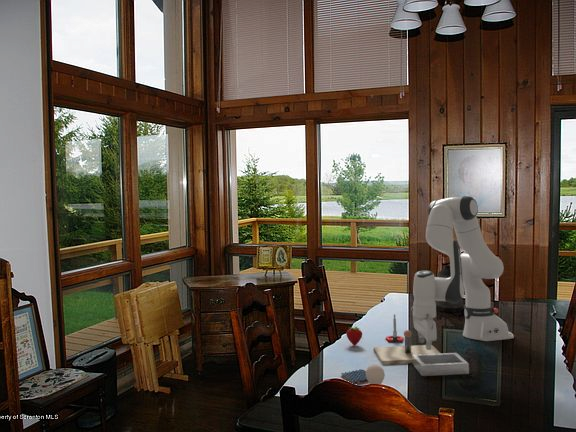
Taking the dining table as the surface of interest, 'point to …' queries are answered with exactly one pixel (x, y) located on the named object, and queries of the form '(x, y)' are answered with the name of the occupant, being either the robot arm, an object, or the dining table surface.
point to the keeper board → (402, 352)
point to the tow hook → (394, 334)
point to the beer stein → (448, 306)
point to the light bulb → (375, 374)
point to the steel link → (440, 364)
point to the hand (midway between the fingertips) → (424, 345)
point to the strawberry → (354, 335)
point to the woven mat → (355, 376)
